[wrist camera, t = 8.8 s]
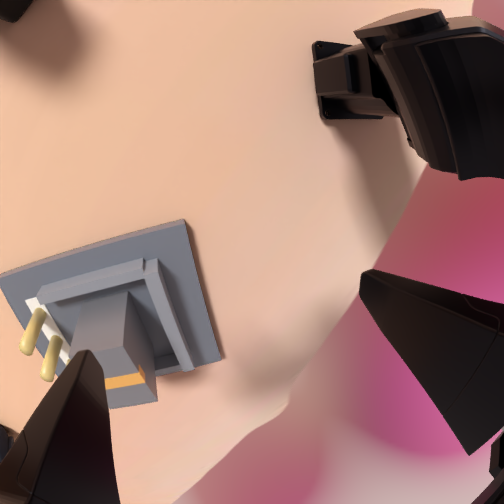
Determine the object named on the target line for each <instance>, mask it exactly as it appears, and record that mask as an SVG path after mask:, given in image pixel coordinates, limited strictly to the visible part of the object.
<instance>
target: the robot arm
mask: <svg viewBox="0 0 504 504" xmlns="http://www.w3.org/2000/svg"><path fill="white" fill-rule="evenodd" d="M353 32H354V34H355V35H356V37H357V38H358V39H360V40H361V42H362V44H358V45H355V46H352V45H346V44H340V43H333V42H324V41H316V42H314V43H313V44H312V51H313V58H314V63H313V68H314V76H315V84H316V92H317V94H318V100H319V110H320V116H321V117H322V118H323V119H382V118H383V117H384V116H391V117H400V119H401V122H402V124H403V126H404V129H405V132H406V134H407V137H408V138H407V140H408V143H409V146H410V147H412V148H413V149H415V150H416V152H417V154H418V156H420V157H421V158H422V159H424V160H425V161H427V162H428V163H429V166H430V167H431V168H433V169H436V170H439V171H442V172H449V173H456V174H458V179H459V180H461V181H462V180H467V179H471V178H475V177H495V178H501V179H504V30H502V29H500V28H498V27H496V26H494V25H492V24H490V23H488V22H486V21H484V20H482V19H479V18H477V17H474V16H463V17H454V18H446V19H445V17H444V15H443V13H442V11H441V10H440V9H414V10H410V11H406V12H402V13H398V14H394V15H391V16H389V17H386V18H384V19H381V20H379V21H376V22H374V23H371V24H369V25H367V26H364V27H362V28H360V29H357V30H355V31H353ZM317 45H319V46H320V49H319V48H318V47H317ZM326 110H327V111H328V115H326V114H325V111H326ZM359 295H360V298H361V300H362V301H363V303H364V305H365V306H366V308H367V309H368V311H369V312H370V314H371V316H372V317H373V319H374V320H375V322H376V324H377V325H378V327H379V328H380V330H381V331H382V333H383V334H384V336H385V337H386V338H387V339H388V341H389V342H390V343H391V345H392V346H393V347H394V349H395V350H396V351H397V353H398V354H399V355H400V356H401V358H402V359H403V361H404V362H405V363H406V364H407V366H408V367H409V369H410V370H411V371H412V373H413V374H414V376H415V377H416V378H417V380H418V381H419V383H420V384H421V385H422V387H423V388H424V389H425V391H426V392H427V394H428V395H429V397H430V398H431V400H432V401H433V402H434V404H435V405H436V407H437V408H438V410H439V411H440V413H441V414H442V415H443V417H444V419H445V420H446V422H447V423H448V425H449V426H450V428H451V429H452V431H453V432H454V434H455V436H456V437H457V439H458V440H459V442H460V443H461V445H462V446H463V448H464V450H465V451H466V453H467V454H468V455H469V456H470V455H471V454H472V453H474V452H475V451H476V450H477V449H479V448H480V447H481V446H482V445H483V444H485V443H486V442H487V441H488V440H489V439H490V438H492V437H493V435H495V434H496V433H497V432H498V431H499V430H500V429H502V430H503V431H502V432H501V434H500V435H499V436H498V437H497V439H496V440H495V441H494V442H493V444H492V445H491V458H490V468H489V472H490V474H491V475H492V476H493V477H494V480H493V481H492V482H491V483H490V485H489V486H488V487H487V488H486V489H485V490H484V491H483V492H482V493H481V494H480V495H479V496H478V497H477V498H476V499H475V500H474V501H473V502H472V503H471V504H504V304H502V303H497V302H493V301H488V300H484V299H480V298H476V297H473V296H469V295H466V294H461V293H458V292H455V291H451V290H448V289H444V288H441V287H437V286H433V285H429V284H426V283H423V282H419V281H415V280H412V279H408V278H405V277H401V276H397V275H394V274H390V273H386V272H382V271H379V270H375V269H370V270H367V271H364V272H363V273H362V274H361V279H360V288H359ZM23 429H24V430H22V431H21V433H20V434H19V436H18V438H17V439H16V441H15V442H14V444H13V446H12V447H11V449H10V450H9V452H8V453H7V455H6V456H5V458H4V459H3V460H2V462H1V463H0V504H120V499H119V493H118V488H117V482H116V475H115V468H114V461H113V452H112V442H111V430H110V417H109V408H108V402H107V395H106V387H105V379H104V371H103V368H102V366H101V365H100V363H99V362H98V360H97V359H96V357H95V356H94V354H93V353H92V351H91V350H89V349H85V350H80V351H78V352H77V353H76V354H75V355H74V357H73V358H72V359H71V361H70V362H69V363H68V365H67V366H66V367H65V369H64V370H63V371H62V373H61V374H60V375H59V377H58V378H57V380H56V381H55V382H54V384H53V385H52V387H51V388H50V389H49V391H48V392H47V394H46V395H45V396H44V398H43V399H42V401H41V402H40V404H39V405H38V407H37V408H36V410H35V411H34V413H33V414H32V416H31V417H30V419H29V420H28V422H27V423H26V425H25V427H24V428H23Z"/></svg>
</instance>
